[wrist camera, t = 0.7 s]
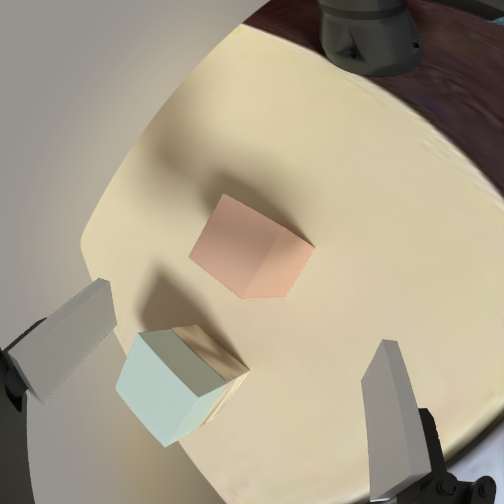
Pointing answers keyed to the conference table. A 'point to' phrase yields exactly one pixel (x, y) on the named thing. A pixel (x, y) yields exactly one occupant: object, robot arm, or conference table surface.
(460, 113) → the conference table surface
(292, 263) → the tall block
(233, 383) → the tower base block
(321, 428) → the conference table surface
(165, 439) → the tower upper block
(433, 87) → the conference table surface
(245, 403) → the conference table surface
